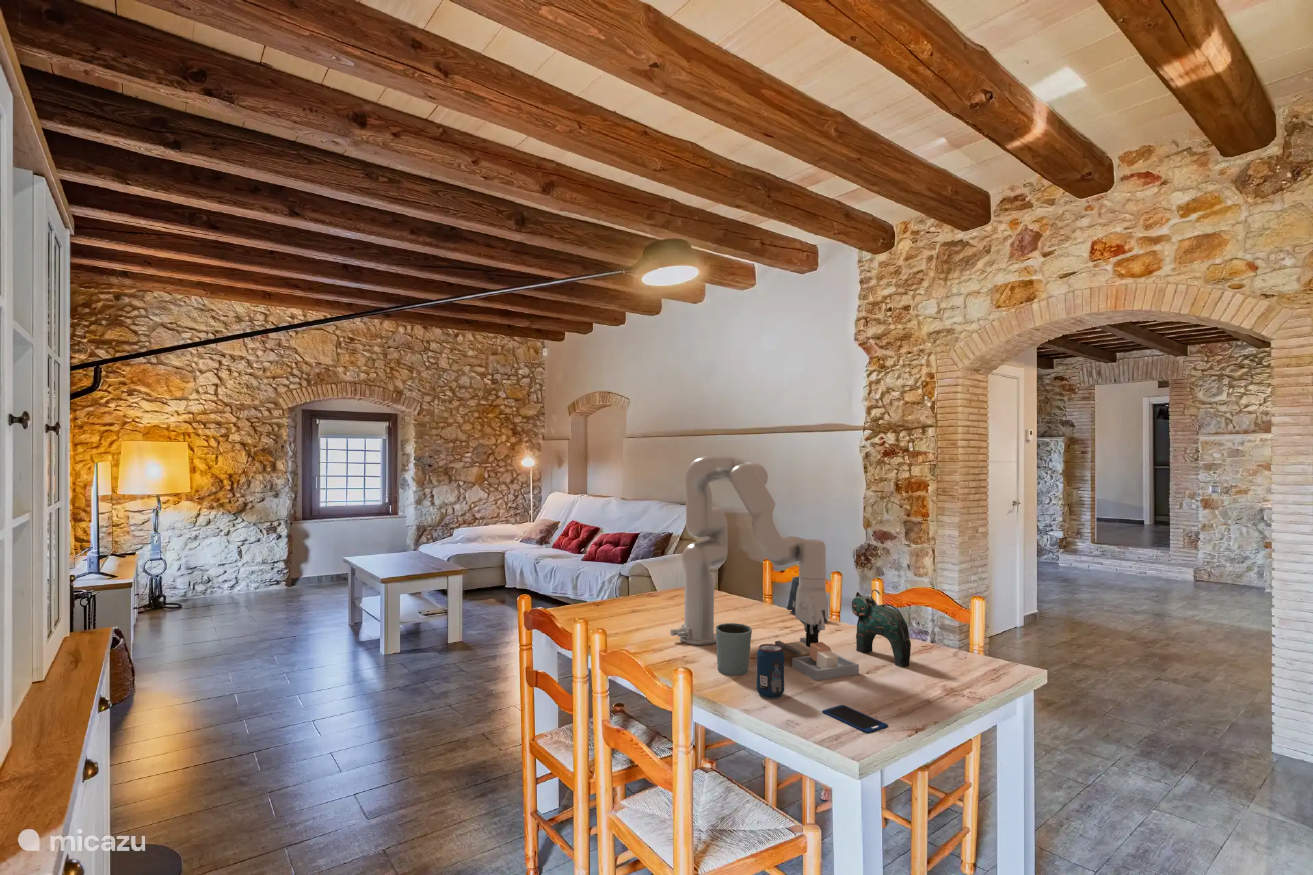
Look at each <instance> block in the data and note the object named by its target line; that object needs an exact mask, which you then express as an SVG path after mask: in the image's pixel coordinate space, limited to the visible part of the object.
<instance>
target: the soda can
mask: <svg viewBox="0 0 1313 875" xmlns="http://www.w3.org/2000/svg"><path fill="white" fill-rule="evenodd" d="M755 680H756V682H755V683H756V687H755V688H756V691H757V693H758V695H759V696H760V697H762V698H763V699H769V700H773V699H774V700H775V699H779V698H782V696H783V694H784V692H785V663H784V653H783V651H782V647H781V646H779V645H775V643H774V644H773V643H763V644H760V645H759V646H758V650H757V652H756V678H755Z"/></svg>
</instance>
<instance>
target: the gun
mask: <svg viewBox="0 0 1313 875" xmlns="http://www.w3.org/2000/svg"><path fill="white" fill-rule="evenodd" d="M798 586H799V575H798V576H792V579H791V585H790V591H789V597H788V602H787V606H786V610H787V611H789V610H792V611H789V612H790V613H791V614H792V615H793V616H795V607H796V594H797V589H798Z"/></svg>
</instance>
